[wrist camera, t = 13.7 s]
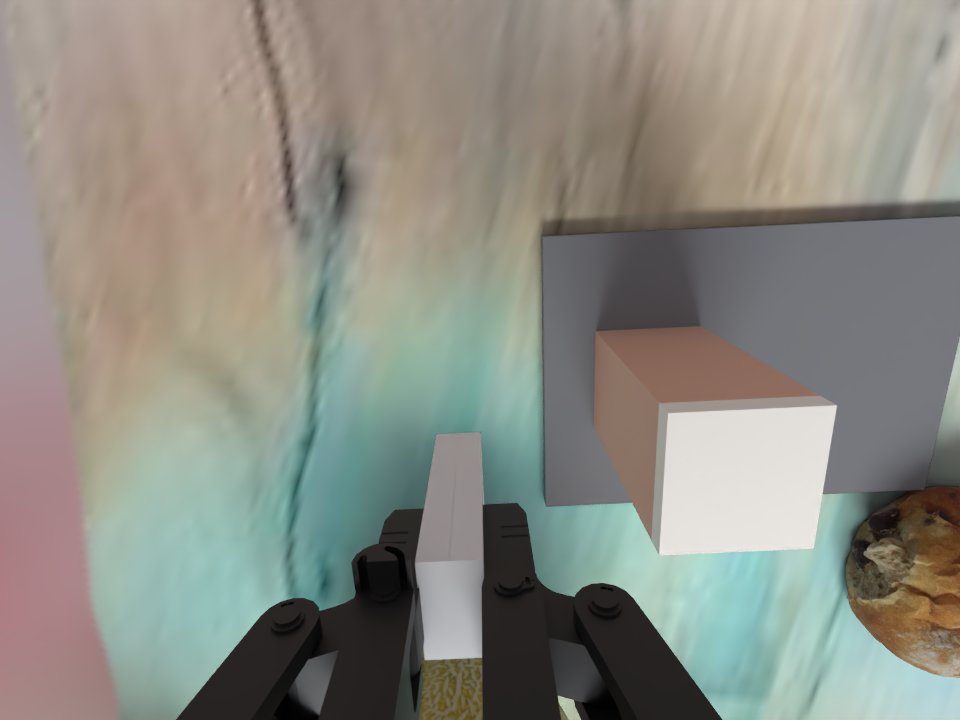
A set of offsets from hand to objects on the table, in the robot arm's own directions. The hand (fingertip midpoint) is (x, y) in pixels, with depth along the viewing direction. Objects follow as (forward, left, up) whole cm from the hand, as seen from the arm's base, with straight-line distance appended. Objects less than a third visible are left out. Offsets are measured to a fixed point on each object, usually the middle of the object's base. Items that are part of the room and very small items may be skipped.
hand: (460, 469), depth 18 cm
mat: (+14, 0, -9) cm, 17 cm away
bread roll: (+25, -12, -9) cm, 29 cm away
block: (+9, 0, -8) cm, 12 cm away
